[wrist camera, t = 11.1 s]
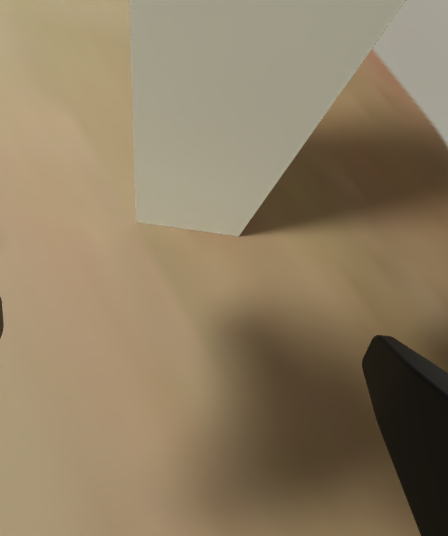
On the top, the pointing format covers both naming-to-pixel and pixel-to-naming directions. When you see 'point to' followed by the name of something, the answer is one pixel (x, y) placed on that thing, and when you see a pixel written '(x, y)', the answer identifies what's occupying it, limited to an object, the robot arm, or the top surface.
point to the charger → (234, 97)
